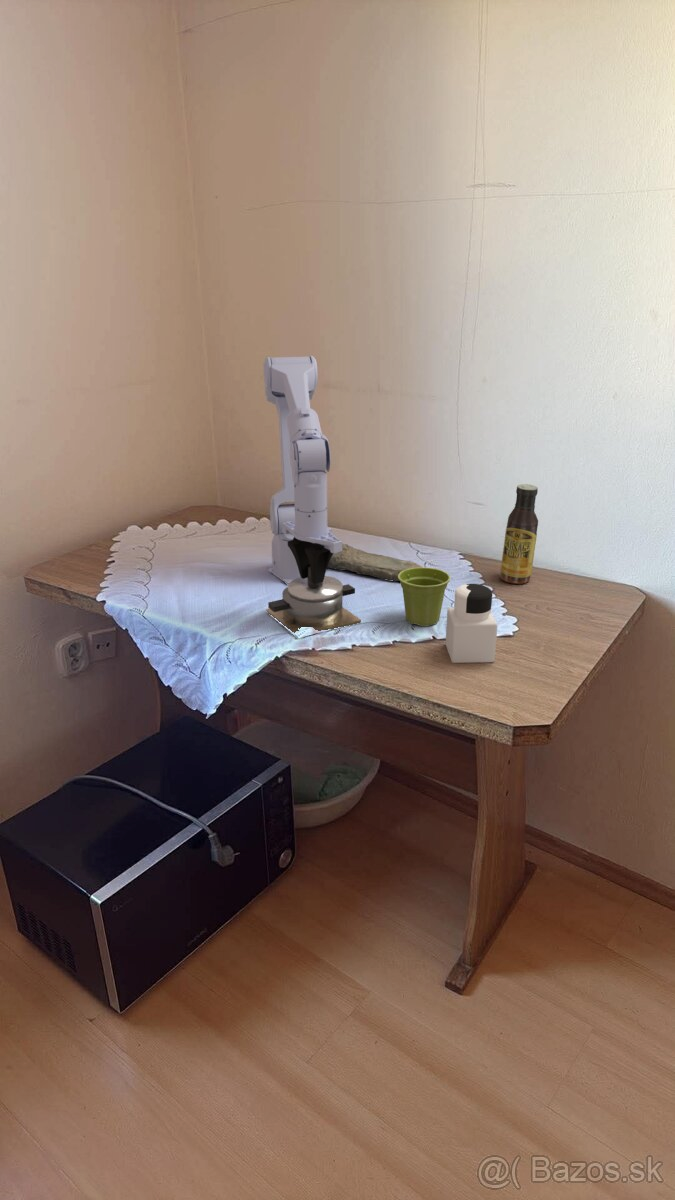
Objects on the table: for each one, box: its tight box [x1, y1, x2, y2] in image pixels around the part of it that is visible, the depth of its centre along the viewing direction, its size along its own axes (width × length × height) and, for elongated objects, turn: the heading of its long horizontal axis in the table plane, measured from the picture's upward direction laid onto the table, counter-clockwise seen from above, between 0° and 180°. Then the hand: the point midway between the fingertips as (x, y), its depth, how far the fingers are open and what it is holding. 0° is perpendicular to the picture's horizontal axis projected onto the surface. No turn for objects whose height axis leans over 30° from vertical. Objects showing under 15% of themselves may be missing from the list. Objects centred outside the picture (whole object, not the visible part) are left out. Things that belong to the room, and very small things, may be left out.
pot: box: [265, 583, 362, 633], centre depth 148 cm, size 13×17×5 cm
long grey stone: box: [327, 542, 423, 582], centre depth 172 cm, size 35×5×10 cm
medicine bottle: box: [445, 583, 498, 664], centre depth 133 cm, size 7×7×12 cm
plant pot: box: [398, 566, 451, 627], centre depth 146 cm, size 9×9×9 cm
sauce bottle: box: [500, 483, 539, 585], centre depth 161 cm, size 6×6×20 cm
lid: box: [287, 563, 343, 603], centre depth 146 cm, size 10×10×5 cm
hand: (312, 579), depth 146 cm, fingers closed on lid, 3 cm apart
